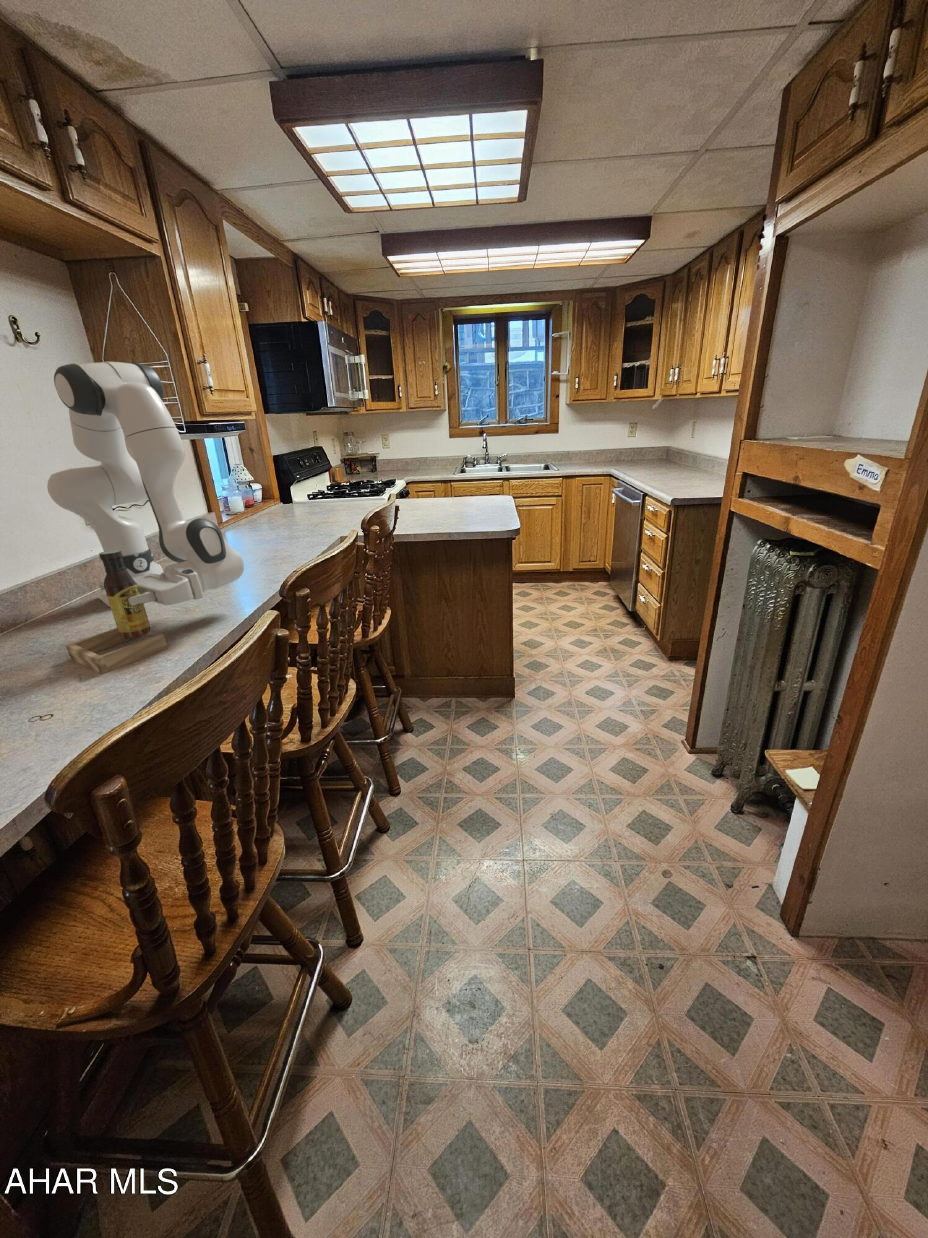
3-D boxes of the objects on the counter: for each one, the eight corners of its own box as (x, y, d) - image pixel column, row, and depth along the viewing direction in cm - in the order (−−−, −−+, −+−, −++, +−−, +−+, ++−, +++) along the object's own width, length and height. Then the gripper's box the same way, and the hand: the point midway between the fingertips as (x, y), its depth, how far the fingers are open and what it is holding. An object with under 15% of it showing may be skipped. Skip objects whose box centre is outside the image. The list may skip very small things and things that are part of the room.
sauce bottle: (137, 641, 110) (106, 556, 102) (114, 640, 111) (82, 556, 103) (159, 629, 116) (132, 548, 108) (137, 628, 117) (109, 548, 109)
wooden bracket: (168, 647, 112) (163, 634, 111) (102, 673, 101) (96, 659, 100) (135, 636, 120) (130, 623, 119) (71, 659, 110) (65, 645, 108)
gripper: (155, 564, 124) (95, 580, 113) (199, 573, 113) (137, 592, 103) (163, 588, 126) (104, 605, 116) (207, 598, 116) (147, 619, 105)
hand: (120, 599), depth 109 cm, fingers closed on sauce bottle, 6 cm apart
